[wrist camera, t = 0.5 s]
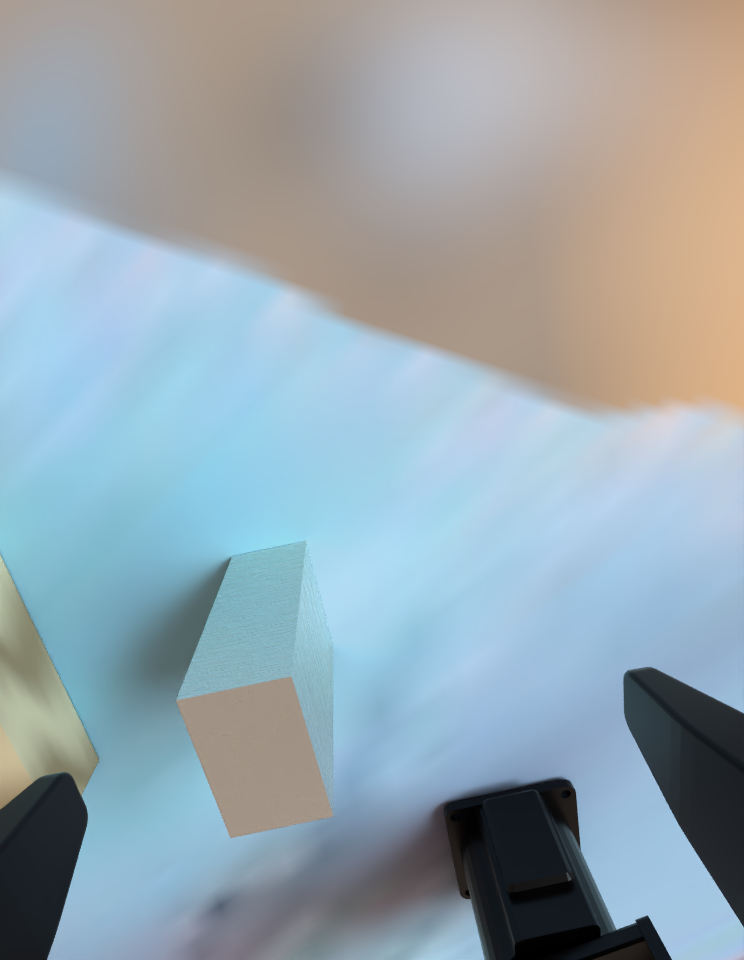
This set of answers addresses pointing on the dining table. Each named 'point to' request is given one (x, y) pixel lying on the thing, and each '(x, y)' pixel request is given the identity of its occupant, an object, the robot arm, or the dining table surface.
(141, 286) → the dining table surface
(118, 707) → the dining table surface
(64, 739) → the well block
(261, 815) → the tall grey box
